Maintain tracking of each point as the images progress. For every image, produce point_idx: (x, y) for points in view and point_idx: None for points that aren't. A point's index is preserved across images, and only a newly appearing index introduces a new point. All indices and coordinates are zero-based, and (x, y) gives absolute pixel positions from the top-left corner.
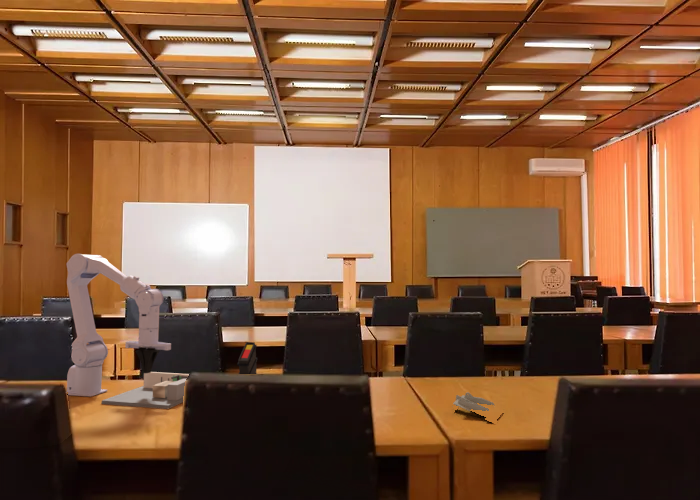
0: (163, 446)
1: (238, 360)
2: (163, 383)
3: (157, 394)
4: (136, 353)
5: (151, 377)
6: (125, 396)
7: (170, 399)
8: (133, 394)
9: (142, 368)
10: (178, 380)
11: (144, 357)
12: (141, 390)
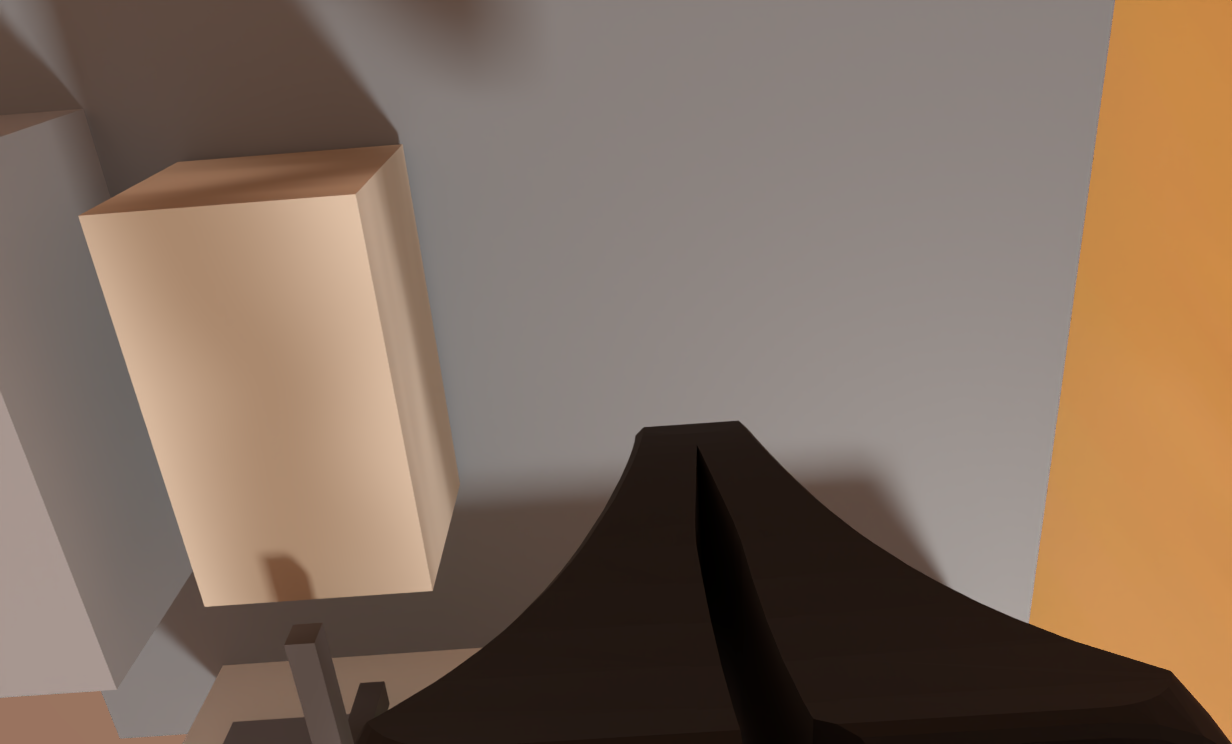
0: None
1: None
2: (305, 406)
3: (295, 161)
4: (1143, 666)
5: None
6: (900, 71)
7: (17, 115)
8: (852, 231)
9: (769, 455)
10: (58, 540)
11: (707, 626)
12: (887, 473)
